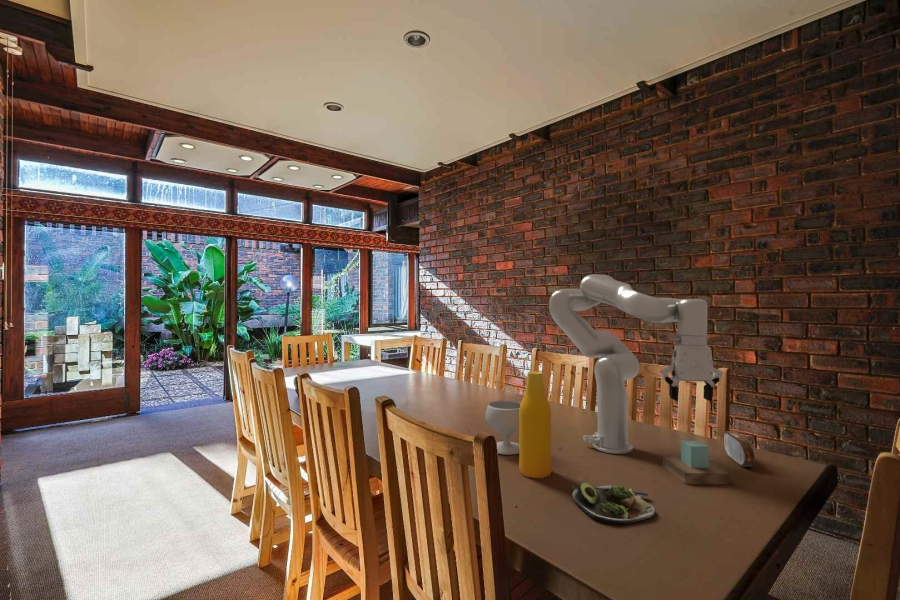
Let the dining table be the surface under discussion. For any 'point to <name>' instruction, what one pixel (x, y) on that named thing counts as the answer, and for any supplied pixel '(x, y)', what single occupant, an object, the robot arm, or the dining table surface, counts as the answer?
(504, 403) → the chalice
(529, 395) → the beer bottle
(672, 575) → the dining table surface
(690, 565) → the dining table surface
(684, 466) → the walnut base
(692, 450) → the teal block
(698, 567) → the dining table surface
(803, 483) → the dining table surface
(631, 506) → the salad plate
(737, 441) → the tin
